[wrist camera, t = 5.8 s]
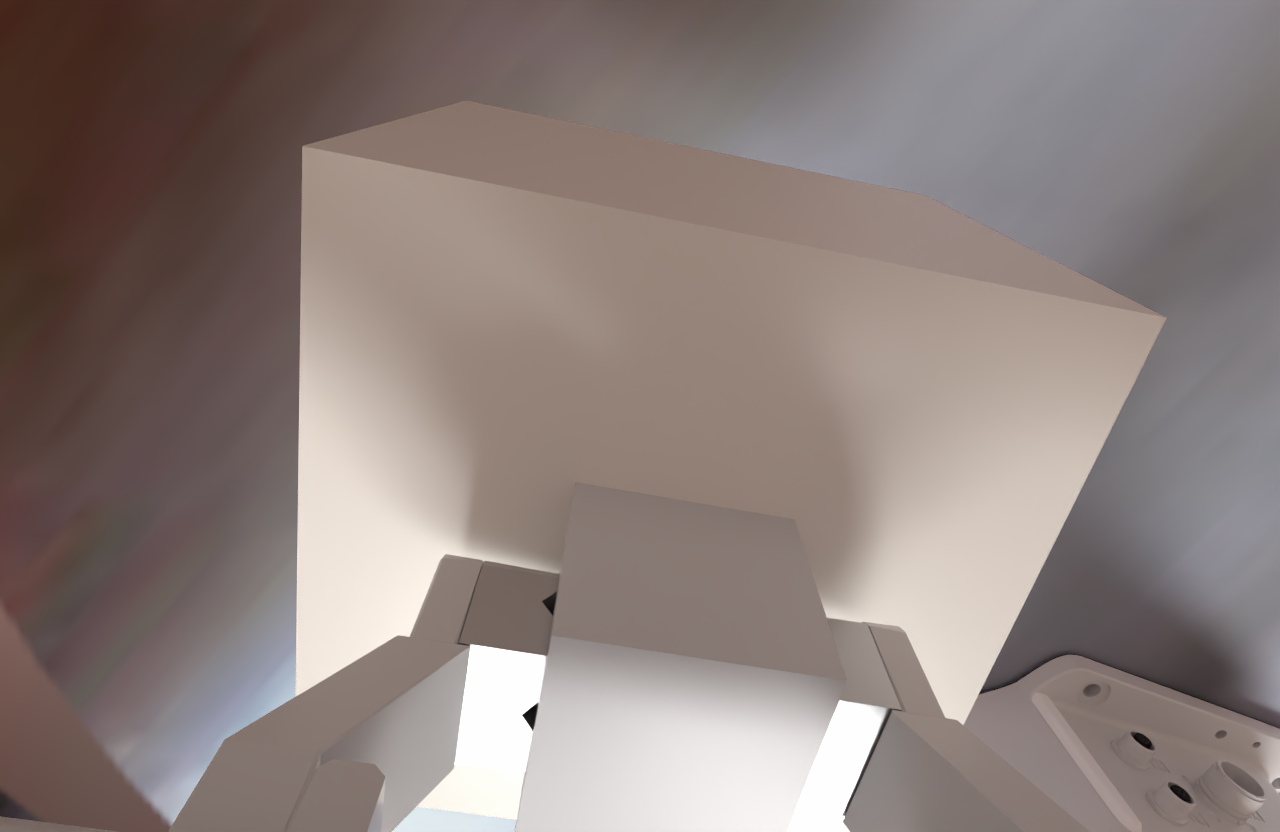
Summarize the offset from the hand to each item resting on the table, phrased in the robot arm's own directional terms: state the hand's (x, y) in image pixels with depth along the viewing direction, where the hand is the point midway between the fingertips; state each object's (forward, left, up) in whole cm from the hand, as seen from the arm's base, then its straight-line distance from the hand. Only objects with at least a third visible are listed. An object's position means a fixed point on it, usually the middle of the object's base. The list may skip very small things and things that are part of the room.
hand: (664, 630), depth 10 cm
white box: (0, 0, -10) cm, 10 cm away
